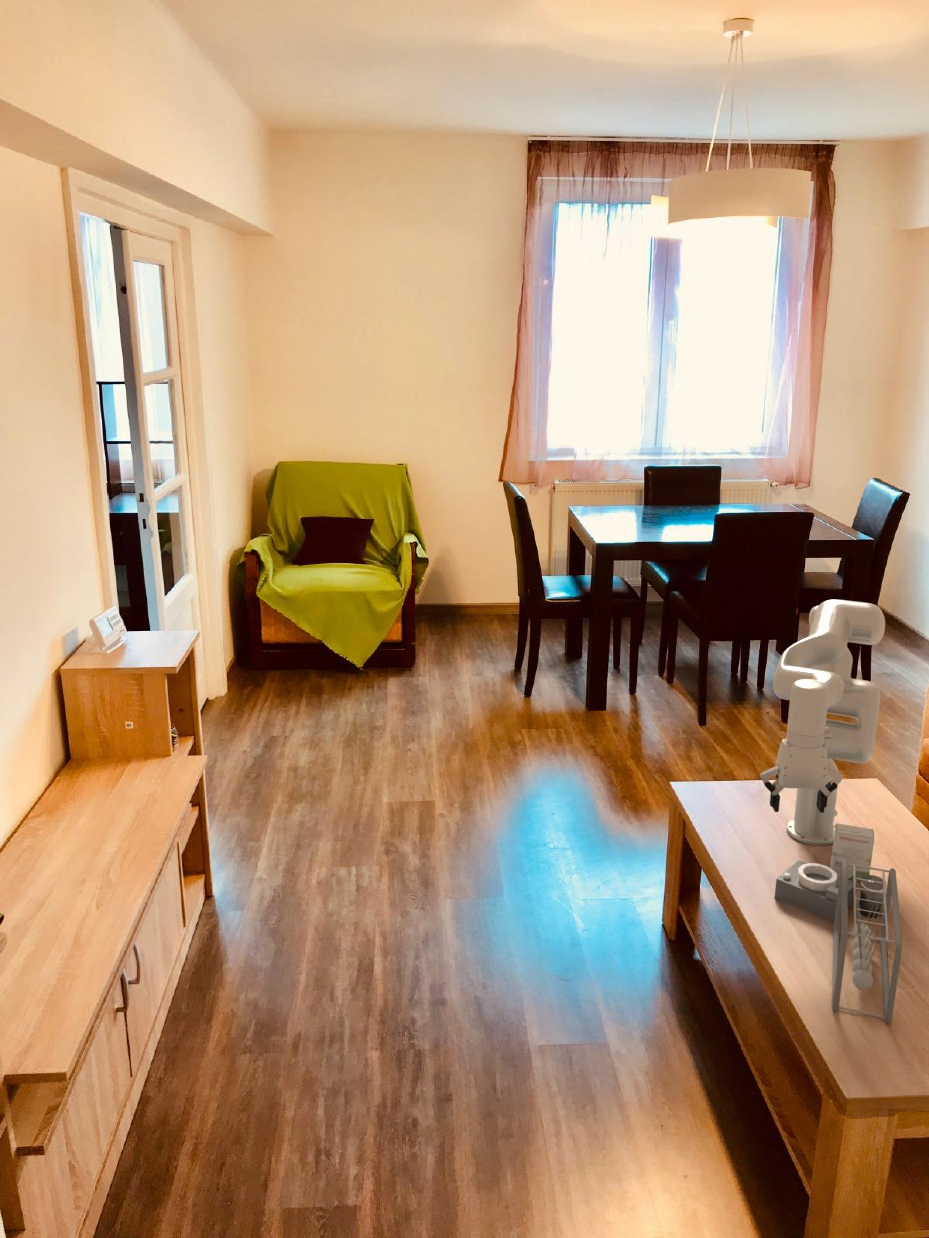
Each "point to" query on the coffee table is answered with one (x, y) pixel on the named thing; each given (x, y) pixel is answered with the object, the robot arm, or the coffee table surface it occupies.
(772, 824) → the coffee table surface
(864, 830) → the ink box
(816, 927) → the coffee table surface
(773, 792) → the robot arm
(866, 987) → the newton's cradle
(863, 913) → the lens
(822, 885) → the camera body
